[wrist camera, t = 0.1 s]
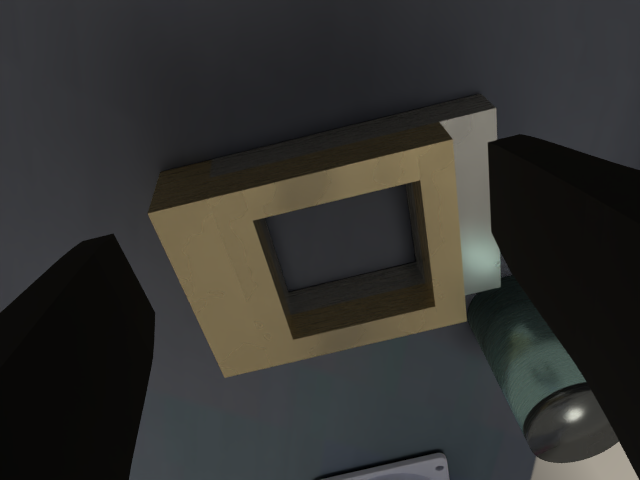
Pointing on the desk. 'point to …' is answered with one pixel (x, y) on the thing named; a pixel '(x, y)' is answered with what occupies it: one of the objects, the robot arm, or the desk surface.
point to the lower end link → (472, 194)
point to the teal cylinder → (538, 377)
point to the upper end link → (257, 265)
